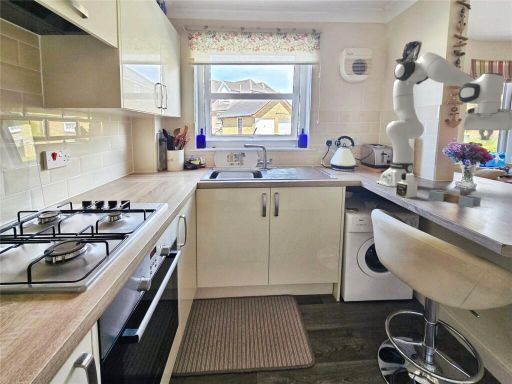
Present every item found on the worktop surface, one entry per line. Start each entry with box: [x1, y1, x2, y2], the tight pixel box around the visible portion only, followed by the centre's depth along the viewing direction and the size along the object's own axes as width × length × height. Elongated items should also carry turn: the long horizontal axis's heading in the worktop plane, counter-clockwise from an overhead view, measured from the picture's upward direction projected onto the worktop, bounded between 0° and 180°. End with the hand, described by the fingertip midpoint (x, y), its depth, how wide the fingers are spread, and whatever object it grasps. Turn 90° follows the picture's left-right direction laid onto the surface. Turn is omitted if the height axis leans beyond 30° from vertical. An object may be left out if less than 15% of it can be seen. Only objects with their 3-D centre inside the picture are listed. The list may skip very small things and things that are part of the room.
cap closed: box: [428, 189, 453, 202], centre depth 165 cm, size 8×6×4 cm
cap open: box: [457, 194, 482, 208], centre depth 152 cm, size 6×6×4 cm
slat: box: [435, 191, 469, 205], centre depth 160 cm, size 16×3×4 cm, turn 27°
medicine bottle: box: [395, 172, 419, 199], centre depth 172 cm, size 7×7×12 cm
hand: (484, 140), depth 155 cm, fingers closed
